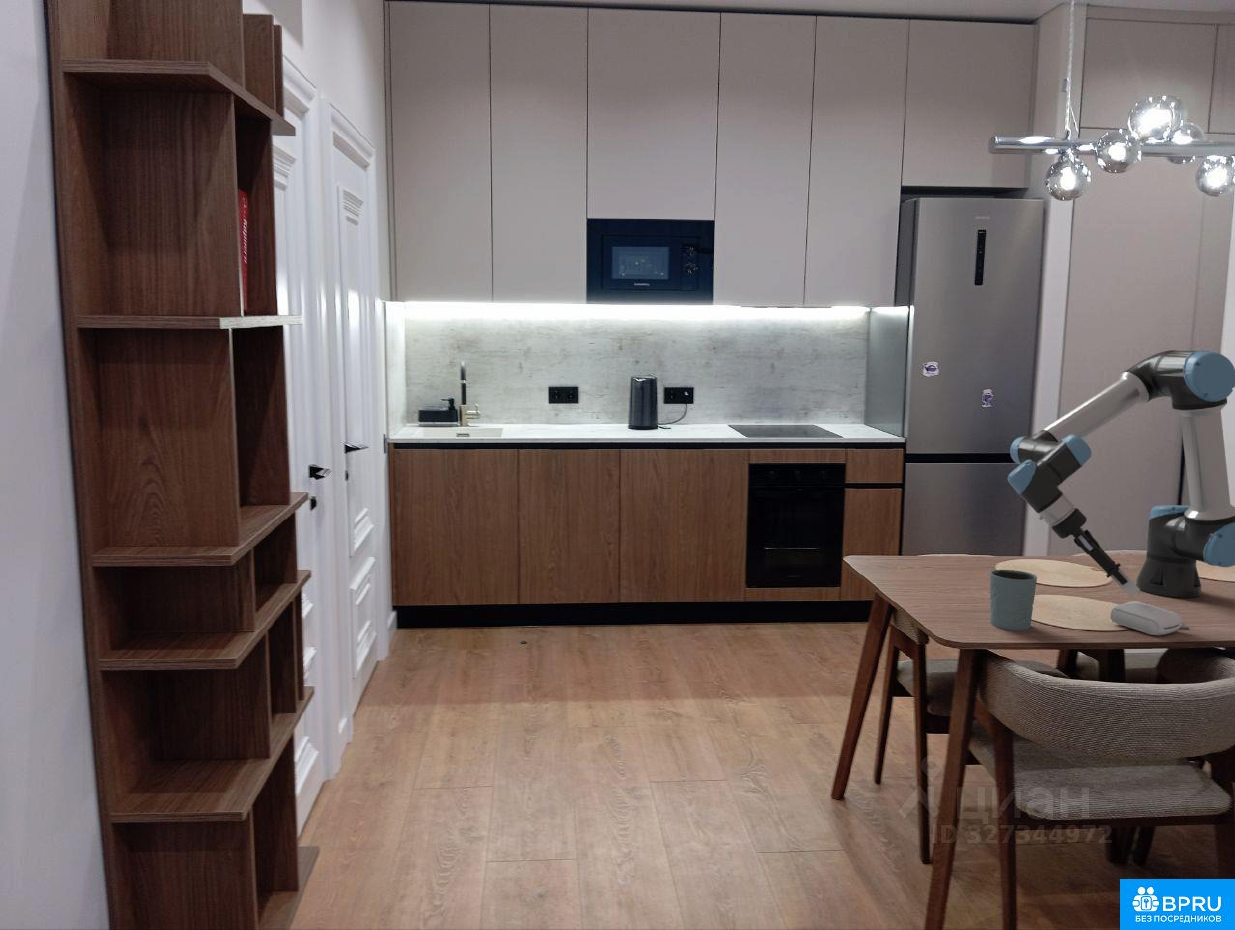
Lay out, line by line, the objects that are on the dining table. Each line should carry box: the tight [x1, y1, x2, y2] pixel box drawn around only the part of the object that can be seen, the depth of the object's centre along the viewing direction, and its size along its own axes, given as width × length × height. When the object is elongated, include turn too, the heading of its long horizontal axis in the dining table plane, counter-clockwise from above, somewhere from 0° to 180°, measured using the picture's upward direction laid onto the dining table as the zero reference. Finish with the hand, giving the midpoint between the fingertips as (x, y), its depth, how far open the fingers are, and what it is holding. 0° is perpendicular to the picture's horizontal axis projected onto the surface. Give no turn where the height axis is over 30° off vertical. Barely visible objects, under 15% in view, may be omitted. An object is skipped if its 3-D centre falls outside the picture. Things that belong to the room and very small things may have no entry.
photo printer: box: [1109, 600, 1183, 636], centre depth 225 cm, size 10×4×12 cm
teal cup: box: [989, 569, 1038, 632], centre depth 225 cm, size 10×10×12 cm
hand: (1134, 592), depth 229 cm, fingers closed
